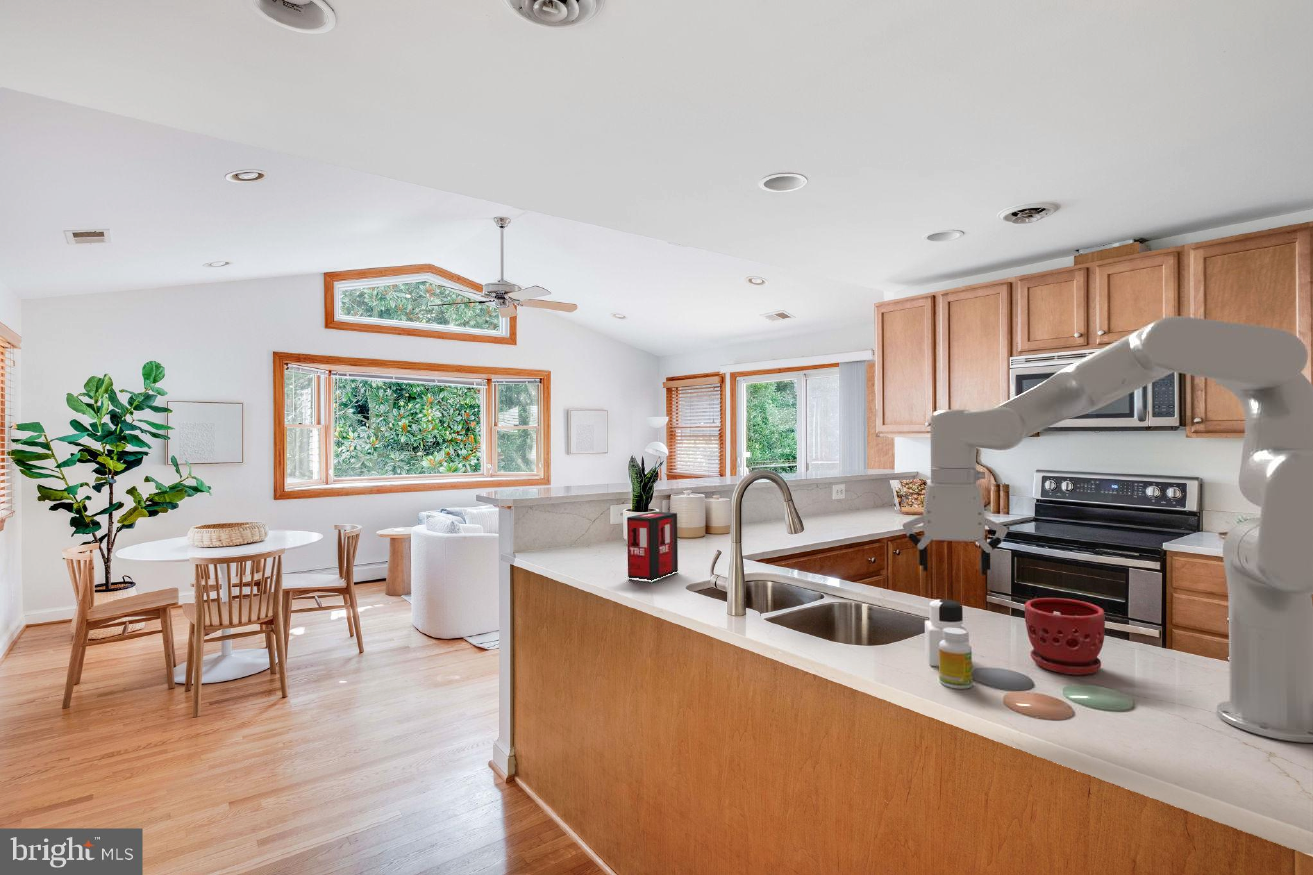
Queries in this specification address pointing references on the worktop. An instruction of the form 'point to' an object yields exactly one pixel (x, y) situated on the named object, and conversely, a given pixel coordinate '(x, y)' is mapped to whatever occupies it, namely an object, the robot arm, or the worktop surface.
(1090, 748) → the worktop surface
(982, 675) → the slate grey coaster
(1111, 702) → the sage green coaster
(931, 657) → the medicine bottle
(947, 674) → the supplement bottle
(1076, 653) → the plant pot
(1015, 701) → the peach coaster
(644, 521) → the cleaning product box
